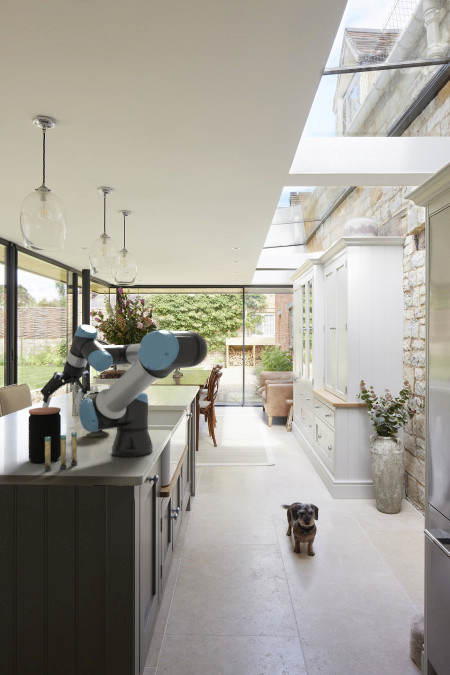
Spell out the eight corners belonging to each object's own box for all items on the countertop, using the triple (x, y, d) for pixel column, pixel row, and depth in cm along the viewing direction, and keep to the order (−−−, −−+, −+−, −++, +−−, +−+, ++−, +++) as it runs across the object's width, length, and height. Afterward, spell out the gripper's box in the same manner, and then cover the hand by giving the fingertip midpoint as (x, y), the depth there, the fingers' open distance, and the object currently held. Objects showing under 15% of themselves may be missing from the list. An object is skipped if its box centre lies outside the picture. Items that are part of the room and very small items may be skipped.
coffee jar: (44, 454, 162) (44, 406, 162) (67, 457, 158) (67, 408, 158) (21, 462, 152) (21, 410, 152) (45, 465, 148) (45, 412, 148)
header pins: (43, 470, 142) (43, 436, 142) (75, 463, 150) (75, 431, 150) (48, 473, 140) (48, 438, 140) (80, 466, 147) (80, 433, 147)
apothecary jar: (105, 431, 203) (105, 392, 203) (115, 435, 193) (115, 395, 193) (79, 434, 196) (79, 394, 196) (89, 439, 186) (89, 397, 186)
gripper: (99, 356, 178) (84, 397, 186) (40, 357, 160) (26, 403, 167) (108, 366, 174) (93, 408, 182) (49, 369, 155) (34, 416, 163)
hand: (61, 406), depth 174 cm, fingers open, 13 cm apart
